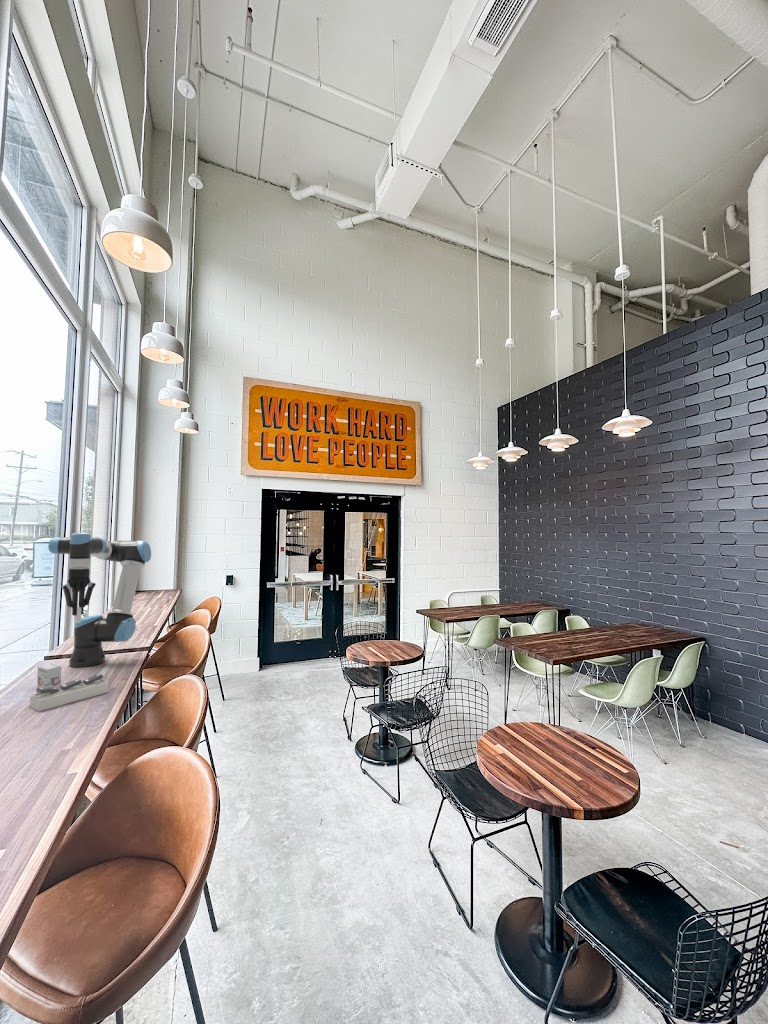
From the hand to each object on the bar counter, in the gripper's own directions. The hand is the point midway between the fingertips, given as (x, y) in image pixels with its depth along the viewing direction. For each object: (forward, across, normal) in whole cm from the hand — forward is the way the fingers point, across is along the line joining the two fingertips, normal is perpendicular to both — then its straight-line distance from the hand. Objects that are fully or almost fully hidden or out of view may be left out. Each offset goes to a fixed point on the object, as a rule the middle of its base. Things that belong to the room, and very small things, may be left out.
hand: (77, 622), depth 194 cm
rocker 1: (+21, +17, +18) cm, 32 cm away
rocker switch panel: (+26, +9, +18) cm, 33 cm away
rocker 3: (+21, +1, +18) cm, 28 cm away
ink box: (+27, +12, +6) cm, 30 cm away
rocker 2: (+21, +9, +18) cm, 29 cm away
